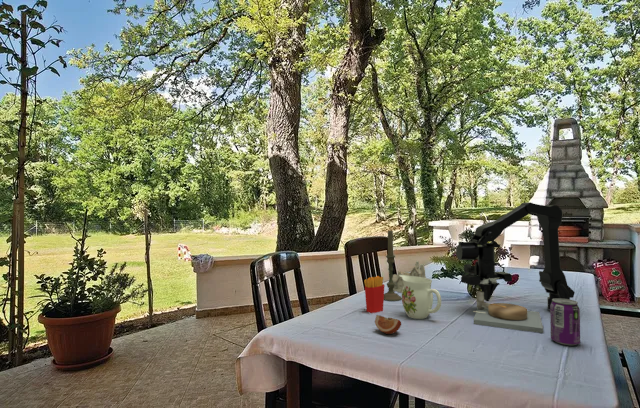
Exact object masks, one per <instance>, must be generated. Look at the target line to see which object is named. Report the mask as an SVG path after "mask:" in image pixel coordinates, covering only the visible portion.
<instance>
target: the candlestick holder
mask: <svg viewBox="0 0 640 408" xmlns="http://www.w3.org/2000/svg"><path fill="white" fill-rule="evenodd" d="M385 257H386V258H387V259H386V262H387V263H388V269H387V270H388V278H389V279H388V282H387V283H386V287H387V288H388V291H387V292H384V302H385V301H387V302H399V301H402V295H399V294H398V293H397V292H395V291H393V288H394V286H395V283H393V280H392V277H393V271H394V268H393V267H394V266H393V264H394V263H395V258H396V256H395V255H394V230H392V229H390V230H387V255H386V256H385Z"/></svg>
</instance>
